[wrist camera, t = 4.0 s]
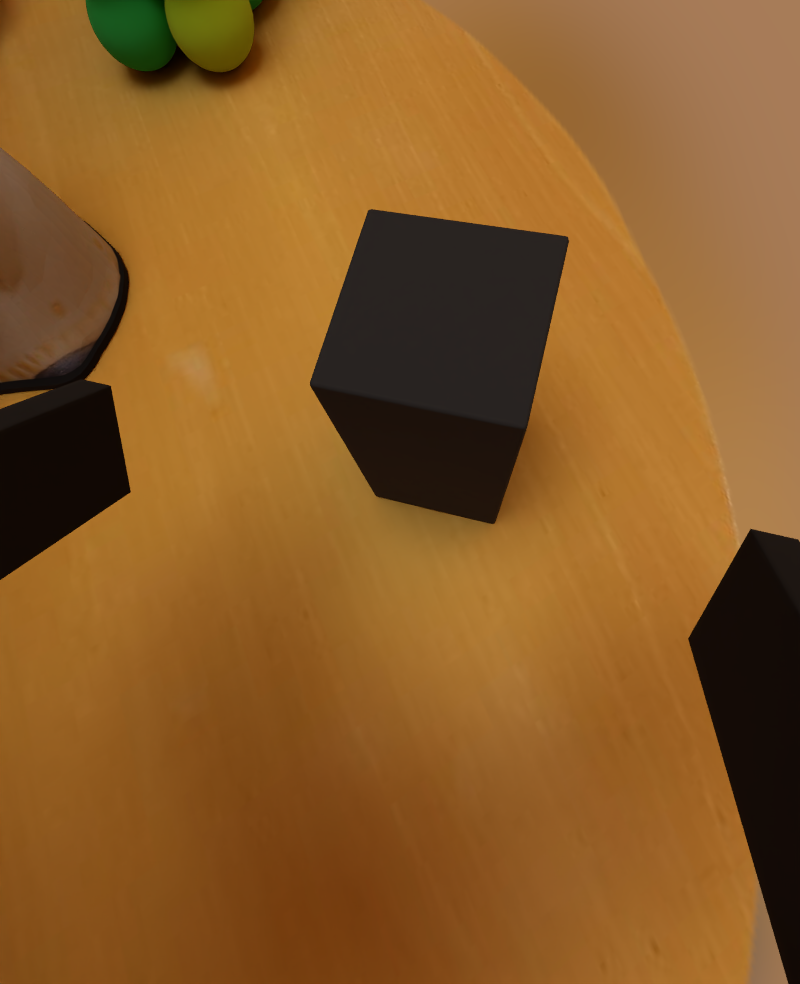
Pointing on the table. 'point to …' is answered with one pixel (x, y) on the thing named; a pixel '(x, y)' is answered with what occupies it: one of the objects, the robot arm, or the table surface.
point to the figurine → (51, 286)
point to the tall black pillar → (439, 356)
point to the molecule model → (175, 31)
